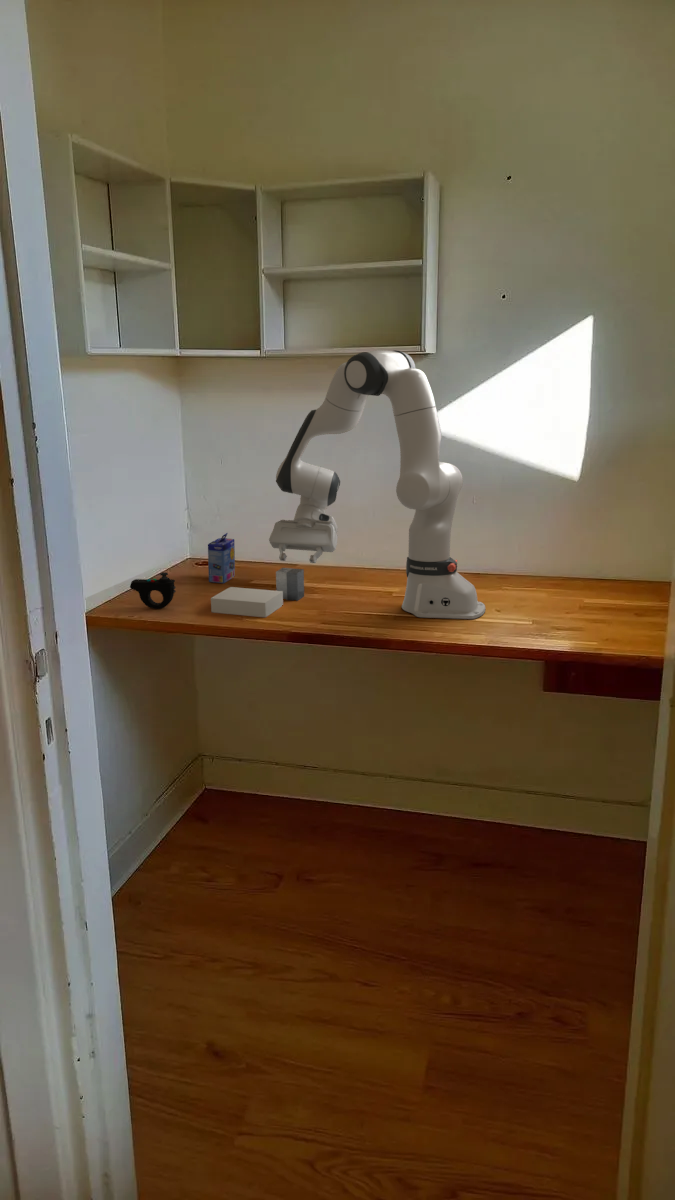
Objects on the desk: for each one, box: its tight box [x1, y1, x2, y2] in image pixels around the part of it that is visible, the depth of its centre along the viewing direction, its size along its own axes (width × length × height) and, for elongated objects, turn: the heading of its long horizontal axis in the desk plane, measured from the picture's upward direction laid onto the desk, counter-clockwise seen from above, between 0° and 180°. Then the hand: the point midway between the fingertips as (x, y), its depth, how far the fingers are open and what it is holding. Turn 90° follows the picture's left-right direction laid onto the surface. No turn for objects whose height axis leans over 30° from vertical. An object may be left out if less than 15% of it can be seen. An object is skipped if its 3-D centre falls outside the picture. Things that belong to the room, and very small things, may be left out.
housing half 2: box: [286, 568, 305, 602], centre depth 241 cm, size 3×5×8 cm, turn 161°
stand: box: [210, 586, 284, 618], centre depth 231 cm, size 16×12×4 cm
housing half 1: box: [275, 567, 294, 601], centre depth 242 cm, size 3×5×8 cm, turn 161°
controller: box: [129, 572, 177, 610], centre depth 232 cm, size 4×12×10 cm, turn 84°
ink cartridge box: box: [207, 532, 236, 584], centre depth 261 cm, size 10×6×14 cm, turn 166°
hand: (297, 560), depth 245 cm, fingers open, 8 cm apart
